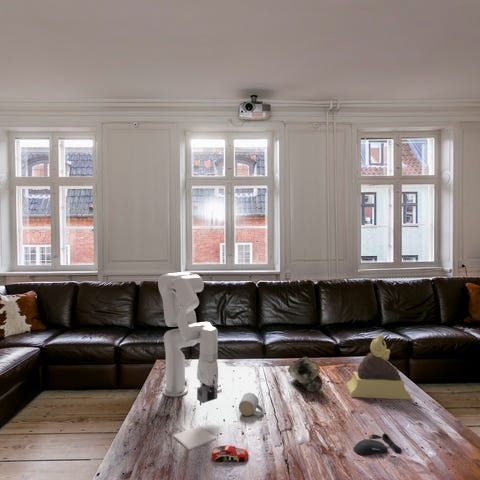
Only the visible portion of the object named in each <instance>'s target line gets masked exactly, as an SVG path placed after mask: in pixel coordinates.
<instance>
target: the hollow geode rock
mask: <svg viewBox="0 0 480 480" xmlns="http://www.w3.org/2000/svg"><path fill="white" fill-rule="evenodd" d="M319 367H320V366H319V365H318V363H316V362H314V361H311V360H310V359H309V358H308V356H302V357H301V358H299V359H297V360H296V361H294V362H292V364H290V365H289V367H288V369H287V372H288V373H289V375H290V377H293V378H294V379H295V380H297V381H298V383H300V384H302V385H303V387H304V388H306V390H307V392H309V393H311V394H315V393H317V391H319V390H321V389H322V387H323V379H322V378H321V377H320V376H319V375H320V369H319Z"/></svg>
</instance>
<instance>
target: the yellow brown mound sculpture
mask: <svg viewBox="0 0 480 480" xmlns="http://www.w3.org/2000/svg"><path fill="white" fill-rule="evenodd" d="M369 350H370V352H369V353H368V354H366V355H365V356H364V357H363V359H362V360H361V362H360V363H359V365H358V367H357V371H353V373H352V377H351V379H350V380H348V381H347V382H346V388H347V391H348V393H349V396H350V398H351V397H352V398H368V399H369V398H370V399H371V398H373V399H374V398H375V399H390V400H391V399H396V400H411V399H412V398H411V394H410V393H409V391H408V390H407V389H406V387H405V381H404V379H403V378H402V377H401V375H400V373H399V371H398V368H397V367H396V366H394V365H393V364H391V363H390V361H388V360H389V359H390V354H391V350H390V349H387V344H386V341H385V336H384V334H381V333H380V334H378V336H377V338H374V339H372V341H371V343H370V346H369Z"/></svg>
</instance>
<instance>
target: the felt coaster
mask: <svg viewBox="0 0 480 480" xmlns="http://www.w3.org/2000/svg"><path fill="white" fill-rule="evenodd" d="M173 437H174V438H175V439H176V440H177V441H178V442H179V443H180V444H182V446H184V447H185V448H186V449H187V450H188V451H190V450H193V449H195V448H198V447H200V446H203V445H206V444H208V443H210V442H213V441H216V440H217V438H216V436H215V435H213V434H211V433H210V431H208V430H206V429H205V428H204V427H202V426H201V425H197V426H195V427H191V428H189V429H187V430H186V429H185V430H183V431H181V432H178V433H174V434H173Z"/></svg>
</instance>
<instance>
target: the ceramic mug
mask: <svg viewBox="0 0 480 480" xmlns="http://www.w3.org/2000/svg"><path fill="white" fill-rule="evenodd" d="M259 402H260V401H259V398H258V397H257V395H256V394H255V393H252V392H247V393H245V394H243V396H242V398H241V399H240V402H239V404H238V410H239V413H240V414H241V415H242V416H244V417H250V416H252V415H255V416H257V417H262V416H263V415H264V409H263V407H262V406H261V405H260V404H259ZM257 409H258V410H259V411H260V412H258V411H256V410H257Z"/></svg>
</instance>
